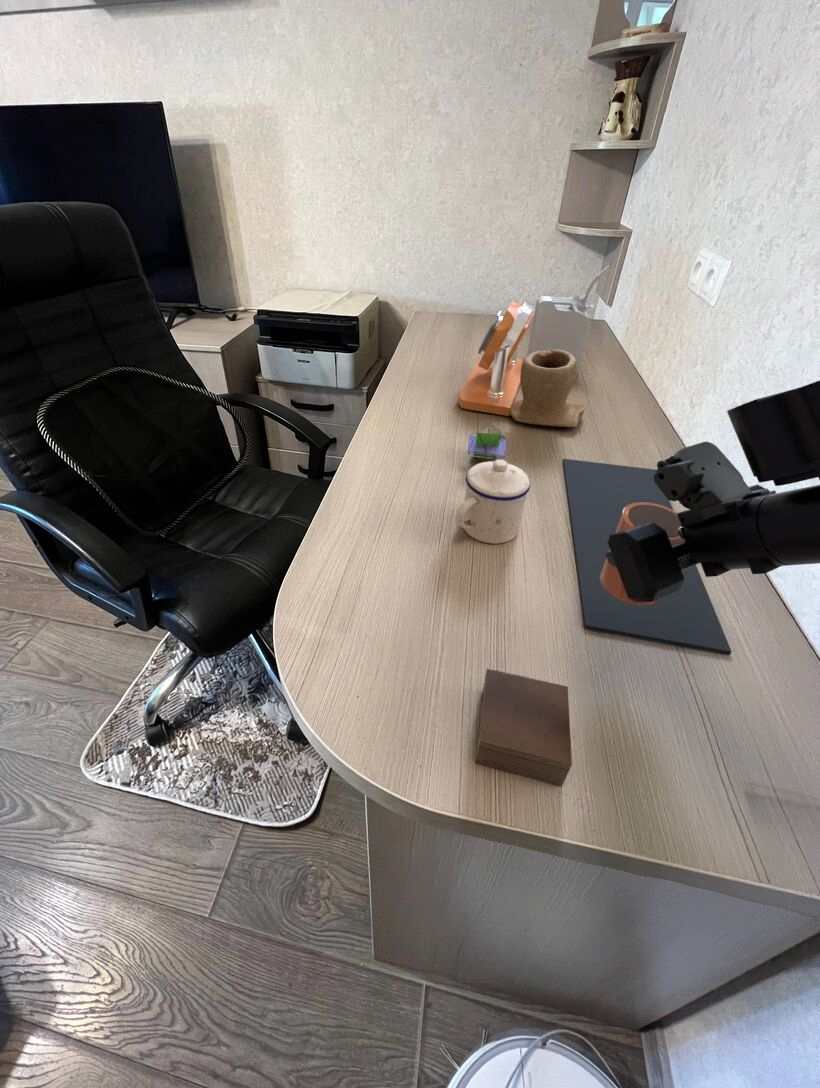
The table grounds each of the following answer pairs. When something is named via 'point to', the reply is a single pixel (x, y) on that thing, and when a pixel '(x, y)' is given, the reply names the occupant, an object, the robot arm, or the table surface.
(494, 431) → the geometric puzzle
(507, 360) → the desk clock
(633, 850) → the table surface
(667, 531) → the cup
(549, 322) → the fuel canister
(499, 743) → the brown square slab
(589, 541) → the desk mat
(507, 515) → the teacup with lid
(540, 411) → the stone cup
